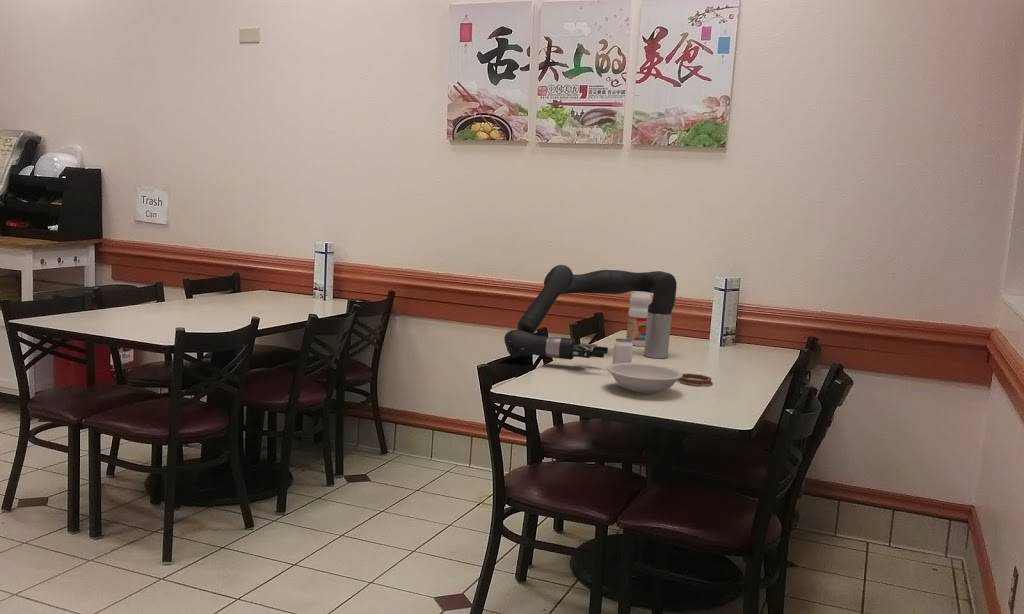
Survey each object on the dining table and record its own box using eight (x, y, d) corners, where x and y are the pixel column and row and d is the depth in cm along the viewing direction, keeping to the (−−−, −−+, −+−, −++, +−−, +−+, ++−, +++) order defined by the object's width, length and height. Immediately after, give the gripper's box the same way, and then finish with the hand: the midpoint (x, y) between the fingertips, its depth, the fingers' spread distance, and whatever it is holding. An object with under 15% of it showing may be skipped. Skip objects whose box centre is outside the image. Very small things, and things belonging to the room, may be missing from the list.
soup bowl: (602, 380, 280) (604, 360, 279) (674, 385, 279) (676, 365, 278) (608, 397, 256) (610, 376, 255) (687, 402, 255) (689, 381, 255)
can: (629, 376, 287) (632, 342, 286) (610, 374, 289) (613, 340, 287) (631, 373, 294) (633, 339, 292) (612, 371, 295) (615, 337, 293)
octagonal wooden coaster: (677, 376, 292) (678, 371, 292) (712, 381, 289) (713, 375, 289) (675, 383, 281) (675, 378, 280) (711, 388, 278) (712, 382, 277)
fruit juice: (631, 341, 359) (637, 276, 356) (651, 344, 354) (657, 279, 351) (622, 344, 352) (627, 277, 348) (642, 347, 347) (648, 280, 343)
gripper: (556, 340, 289) (603, 345, 284) (565, 334, 302) (609, 338, 298) (555, 361, 290) (601, 366, 285) (563, 354, 303) (608, 359, 299)
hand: (605, 352), depth 292 cm, fingers open, 8 cm apart
